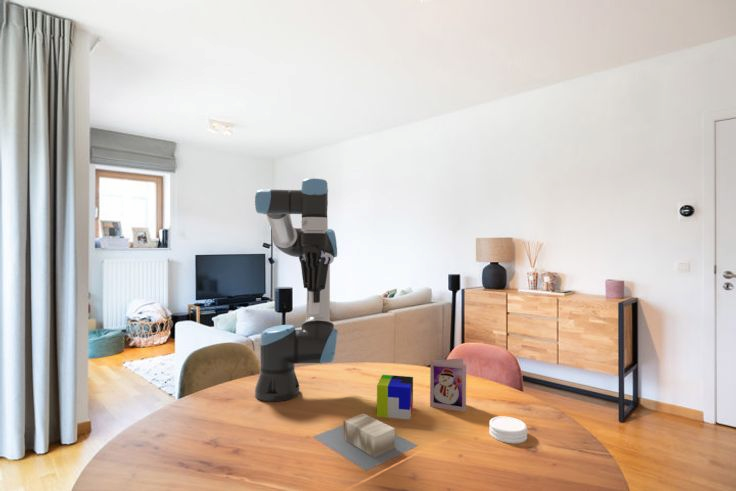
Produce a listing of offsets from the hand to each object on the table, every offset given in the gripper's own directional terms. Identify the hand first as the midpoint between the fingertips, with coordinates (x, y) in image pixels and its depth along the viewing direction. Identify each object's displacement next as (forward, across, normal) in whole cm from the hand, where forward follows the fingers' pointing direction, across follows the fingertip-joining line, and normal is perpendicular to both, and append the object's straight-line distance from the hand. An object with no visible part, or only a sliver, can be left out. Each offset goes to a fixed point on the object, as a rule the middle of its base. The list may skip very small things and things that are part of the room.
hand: (313, 313), depth 119 cm
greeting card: (+33, +18, +41) cm, 55 cm away
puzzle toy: (+33, +10, +24) cm, 42 cm away
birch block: (+30, +14, +4) cm, 33 cm away
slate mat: (+32, +18, +4) cm, 37 cm away
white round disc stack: (+33, +41, +37) cm, 64 cm away
